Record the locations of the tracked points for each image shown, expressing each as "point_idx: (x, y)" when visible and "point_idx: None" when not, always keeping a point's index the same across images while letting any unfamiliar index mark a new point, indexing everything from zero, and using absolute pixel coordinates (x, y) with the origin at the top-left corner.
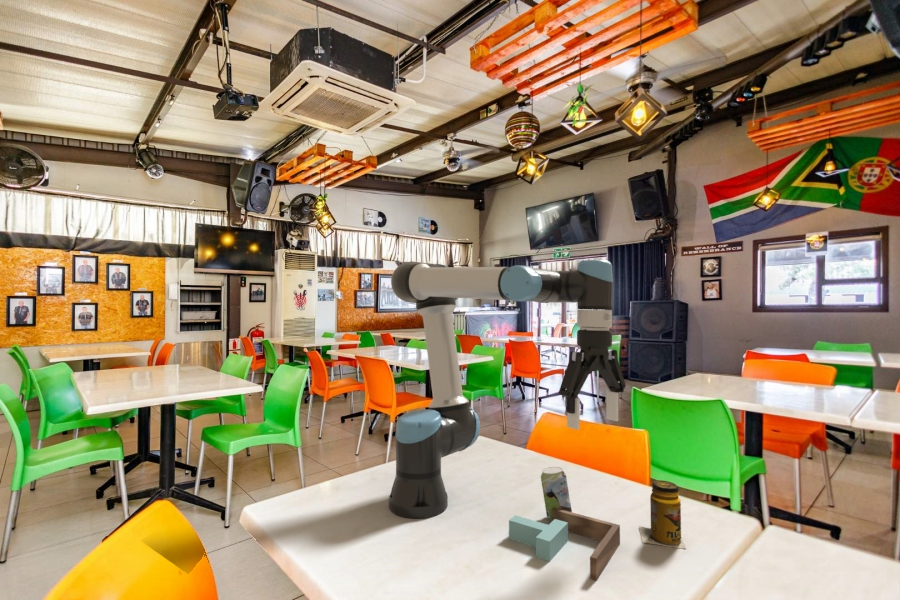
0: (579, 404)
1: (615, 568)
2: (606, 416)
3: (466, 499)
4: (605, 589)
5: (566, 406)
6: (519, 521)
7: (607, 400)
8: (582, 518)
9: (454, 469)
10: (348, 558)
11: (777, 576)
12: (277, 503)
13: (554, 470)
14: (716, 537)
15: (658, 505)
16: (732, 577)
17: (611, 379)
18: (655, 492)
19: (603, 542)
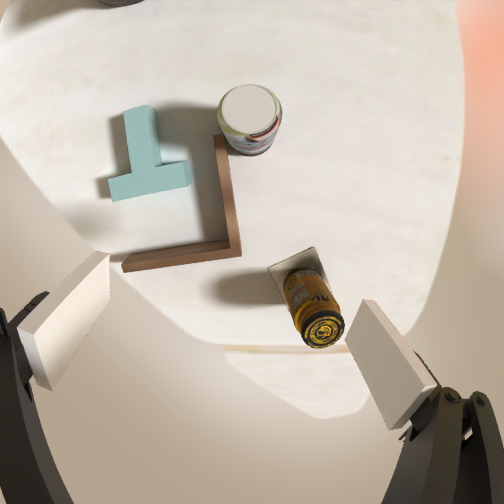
0: (63, 369)
1: (174, 267)
2: (366, 305)
3: None
4: (127, 275)
5: (25, 307)
6: (130, 125)
7: (397, 356)
8: (222, 196)
9: None
10: (8, 56)
11: (289, 379)
12: None
13: (250, 113)
14: (345, 325)
15: (293, 313)
16: (257, 357)
17: (384, 498)
18: (303, 317)
19: (167, 261)
